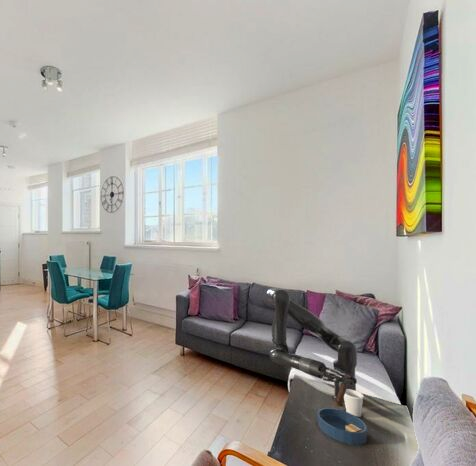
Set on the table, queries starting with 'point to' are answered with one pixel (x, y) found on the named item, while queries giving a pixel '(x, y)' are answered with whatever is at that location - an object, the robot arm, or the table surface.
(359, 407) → the dixie cup
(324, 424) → the bowl
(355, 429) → the wooden block
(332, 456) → the table surface
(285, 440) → the table surface
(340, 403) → the cylinder
